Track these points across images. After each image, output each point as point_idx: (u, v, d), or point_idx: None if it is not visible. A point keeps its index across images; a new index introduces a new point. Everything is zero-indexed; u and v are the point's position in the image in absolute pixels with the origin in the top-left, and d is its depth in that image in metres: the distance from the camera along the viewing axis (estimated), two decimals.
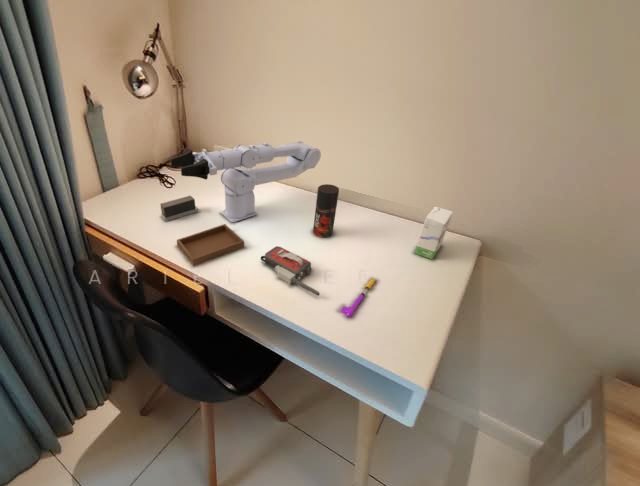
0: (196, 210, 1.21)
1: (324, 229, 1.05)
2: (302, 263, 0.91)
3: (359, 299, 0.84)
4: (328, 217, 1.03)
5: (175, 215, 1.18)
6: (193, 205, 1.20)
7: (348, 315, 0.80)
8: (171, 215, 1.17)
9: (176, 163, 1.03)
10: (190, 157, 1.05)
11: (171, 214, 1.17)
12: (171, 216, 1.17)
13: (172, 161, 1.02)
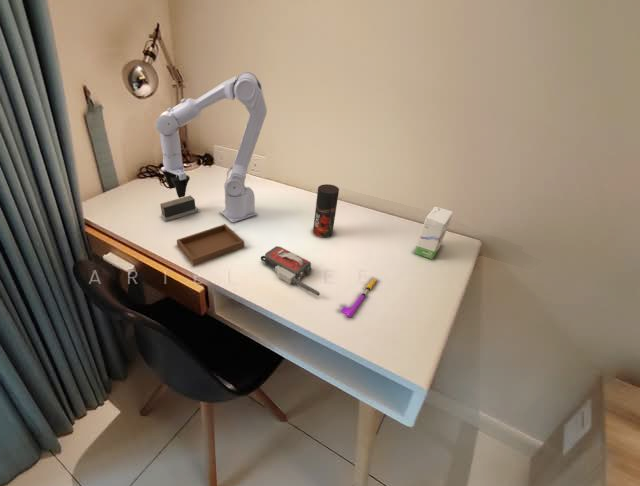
0: (196, 210, 1.21)
1: (324, 229, 1.05)
2: (302, 263, 0.91)
3: (359, 299, 0.84)
4: (328, 217, 1.03)
5: (175, 215, 1.18)
6: (193, 205, 1.20)
7: (348, 315, 0.80)
8: (171, 215, 1.17)
9: (173, 184, 1.18)
10: (167, 172, 1.15)
11: (171, 214, 1.17)
12: (171, 216, 1.17)
13: (171, 187, 1.18)
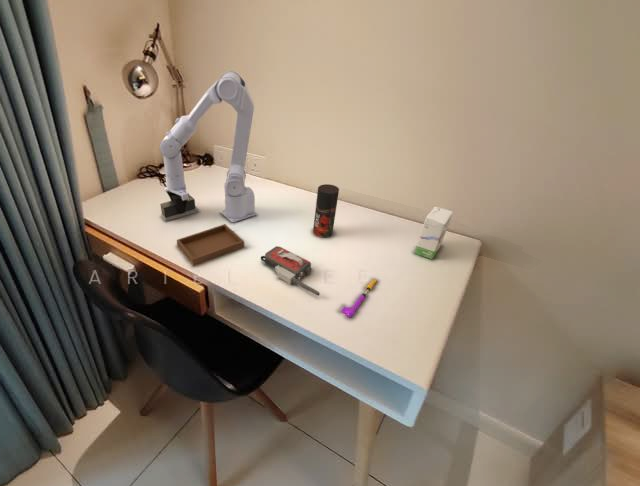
0: (196, 210, 1.21)
1: (324, 229, 1.05)
2: (302, 263, 0.91)
3: (360, 299, 0.84)
4: (328, 217, 1.03)
5: (175, 215, 1.18)
6: (193, 205, 1.20)
7: (348, 315, 0.80)
8: (171, 215, 1.17)
9: None
10: (172, 193, 1.18)
11: (171, 214, 1.17)
12: (171, 216, 1.17)
13: None
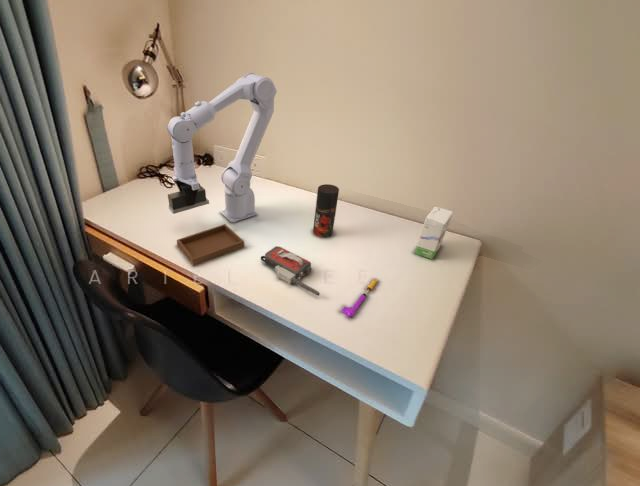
0: (207, 202, 1.10)
1: (324, 229, 1.05)
2: (302, 263, 0.91)
3: (360, 299, 0.84)
4: (328, 217, 1.03)
5: (184, 207, 1.07)
6: (204, 196, 1.09)
7: (349, 315, 0.80)
8: (179, 207, 1.06)
9: None
10: (181, 183, 1.07)
11: (179, 206, 1.06)
12: (180, 209, 1.06)
13: None
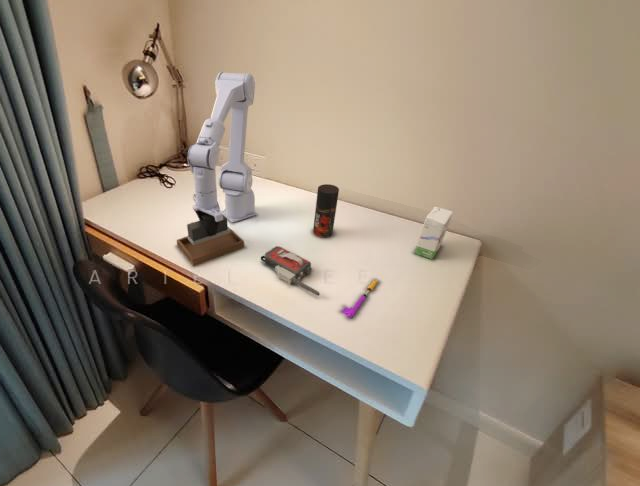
0: (228, 231, 1.03)
1: (324, 229, 1.05)
2: (302, 263, 0.91)
3: (361, 300, 0.84)
4: (328, 217, 1.03)
5: (204, 238, 0.99)
6: (225, 225, 1.01)
7: (349, 316, 0.80)
8: (200, 238, 0.98)
9: None
10: (201, 211, 0.99)
11: (200, 237, 0.98)
12: (200, 240, 0.99)
13: None
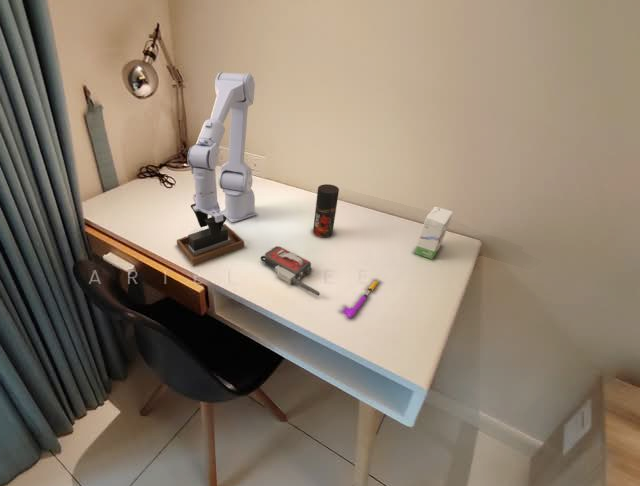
0: (229, 241, 1.05)
1: (324, 229, 1.05)
2: (302, 263, 0.91)
3: (361, 300, 0.83)
4: (328, 217, 1.03)
5: (205, 248, 1.01)
6: (226, 235, 1.03)
7: (349, 316, 0.80)
8: (201, 248, 1.00)
9: (204, 222, 1.03)
10: None
11: (201, 247, 1.00)
12: (201, 250, 1.01)
13: (202, 226, 1.04)
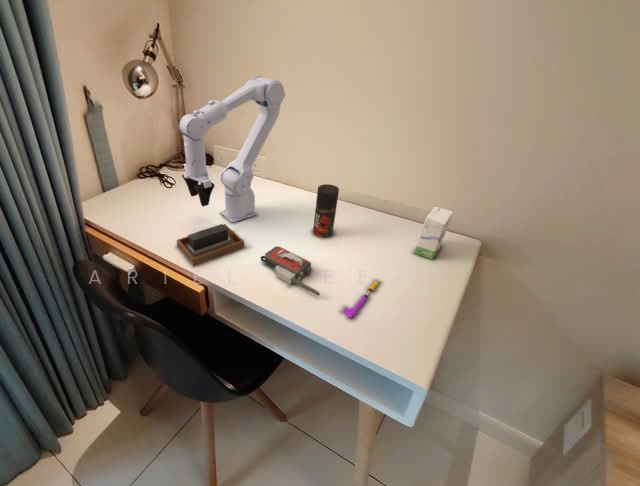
0: (229, 241, 1.05)
1: (324, 229, 1.05)
2: (302, 263, 0.91)
3: (361, 301, 0.83)
4: (328, 217, 1.03)
5: (205, 248, 1.01)
6: (226, 235, 1.03)
7: (350, 316, 0.80)
8: (201, 248, 1.00)
9: (194, 191, 1.11)
10: (189, 178, 1.08)
11: (201, 247, 1.00)
12: (201, 250, 1.01)
13: (193, 195, 1.11)
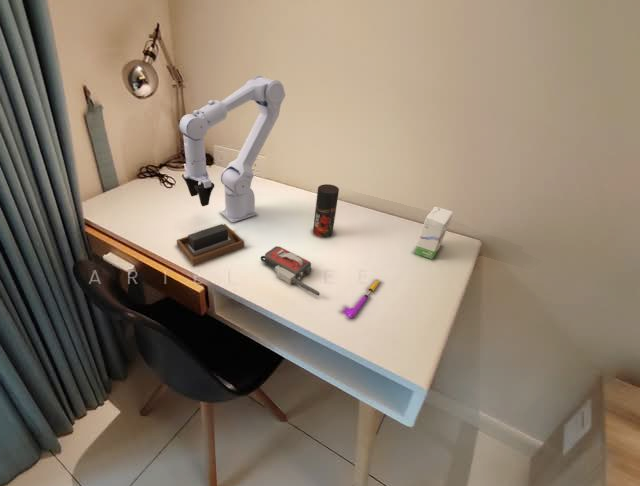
0: (229, 241, 1.05)
1: (324, 229, 1.05)
2: (302, 263, 0.91)
3: (362, 301, 0.83)
4: (328, 217, 1.03)
5: (205, 248, 1.01)
6: (226, 235, 1.03)
7: (350, 316, 0.80)
8: (201, 248, 1.00)
9: (194, 191, 1.11)
10: (189, 178, 1.08)
11: (201, 247, 1.00)
12: (201, 250, 1.01)
13: (193, 195, 1.11)
